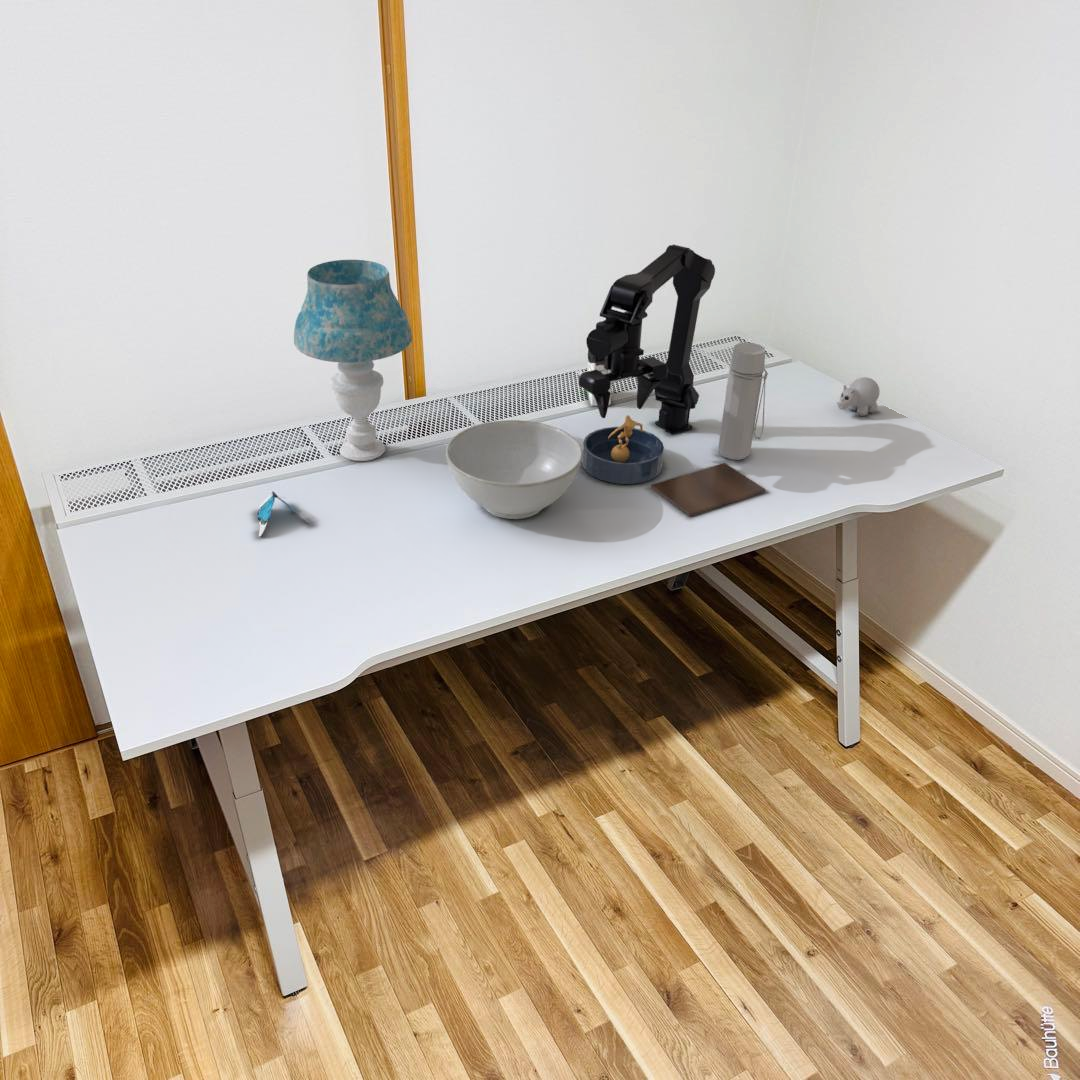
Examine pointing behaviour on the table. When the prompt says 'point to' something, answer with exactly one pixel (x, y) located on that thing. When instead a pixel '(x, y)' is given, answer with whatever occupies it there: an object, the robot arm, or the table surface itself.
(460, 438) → the decorative bowl
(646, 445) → the basin
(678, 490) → the walnut board
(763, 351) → the water bottle
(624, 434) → the figurine
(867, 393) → the chubby cartoon animal
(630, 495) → the table surface
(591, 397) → the ink box
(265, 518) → the decorative butterfly
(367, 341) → the table lamp
